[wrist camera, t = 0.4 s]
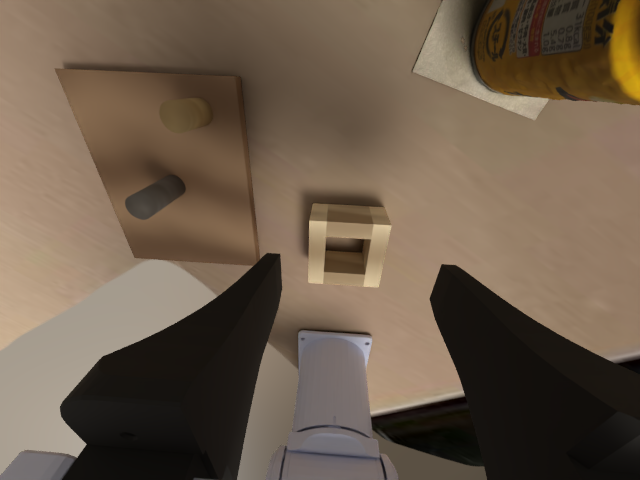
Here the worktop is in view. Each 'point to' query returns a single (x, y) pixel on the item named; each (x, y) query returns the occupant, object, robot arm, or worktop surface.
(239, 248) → the post board
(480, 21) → the condiment
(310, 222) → the ring
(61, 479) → the robot arm
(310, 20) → the worktop surface
